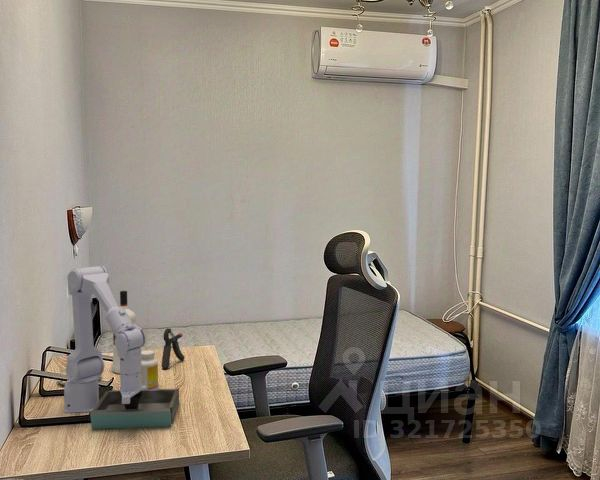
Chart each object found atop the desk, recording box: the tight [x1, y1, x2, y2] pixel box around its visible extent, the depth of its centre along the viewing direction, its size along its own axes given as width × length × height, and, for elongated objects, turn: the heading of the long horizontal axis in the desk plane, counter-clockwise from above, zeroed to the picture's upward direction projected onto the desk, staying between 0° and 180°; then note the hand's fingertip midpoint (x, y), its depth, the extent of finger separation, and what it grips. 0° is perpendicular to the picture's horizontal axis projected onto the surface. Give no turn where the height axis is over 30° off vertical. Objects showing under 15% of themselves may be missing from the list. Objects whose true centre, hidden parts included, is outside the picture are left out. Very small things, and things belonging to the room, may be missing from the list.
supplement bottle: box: [141, 349, 159, 390], centre depth 179 cm, size 7×7×13 cm
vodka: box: [111, 290, 137, 375], centre depth 197 cm, size 9×9×30 cm
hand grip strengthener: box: [161, 327, 185, 371], centre depth 204 cm, size 2×12×15 cm, turn 158°
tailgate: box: [89, 408, 172, 430], centre depth 150 cm, size 22×1×6 cm, turn 95°
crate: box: [93, 388, 180, 425], centre depth 159 cm, size 22×15×5 cm
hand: (132, 418), depth 150 cm, fingers closed, pressing on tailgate
